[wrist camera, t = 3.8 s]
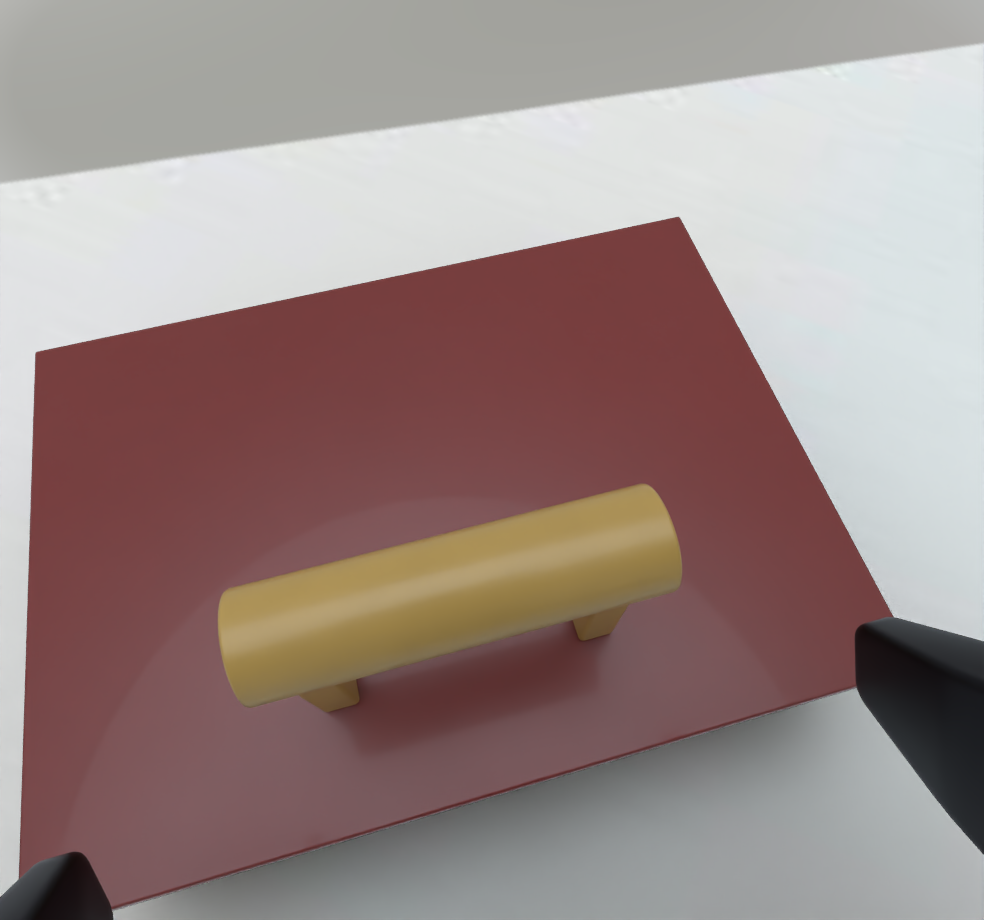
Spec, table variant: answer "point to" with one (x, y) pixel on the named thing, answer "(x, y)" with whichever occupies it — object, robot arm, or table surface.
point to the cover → (409, 556)
